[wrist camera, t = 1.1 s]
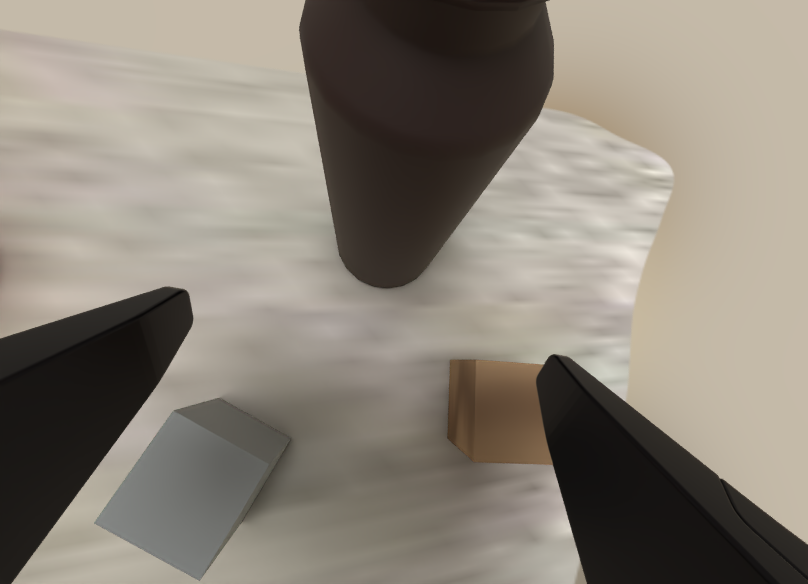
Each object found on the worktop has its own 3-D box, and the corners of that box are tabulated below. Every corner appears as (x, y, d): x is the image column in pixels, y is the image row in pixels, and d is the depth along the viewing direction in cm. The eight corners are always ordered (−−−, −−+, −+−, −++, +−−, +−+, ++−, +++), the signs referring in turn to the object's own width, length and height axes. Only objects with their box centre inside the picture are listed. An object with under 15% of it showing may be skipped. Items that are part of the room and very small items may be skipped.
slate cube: (241, 521, 18) (199, 581, 13) (164, 479, 18) (93, 523, 13) (291, 438, 19) (269, 464, 15) (219, 397, 19) (173, 410, 14)
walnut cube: (519, 441, 21) (566, 465, 16) (446, 437, 21) (474, 462, 16) (518, 364, 22) (562, 366, 17) (449, 359, 22) (475, 359, 17)
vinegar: (317, 232, 22) (29, -664, 3) (393, 183, 24) (551, -601, 4) (376, 308, 22) (536, -129, 2) (450, 253, 23) (919, -283, 4)
